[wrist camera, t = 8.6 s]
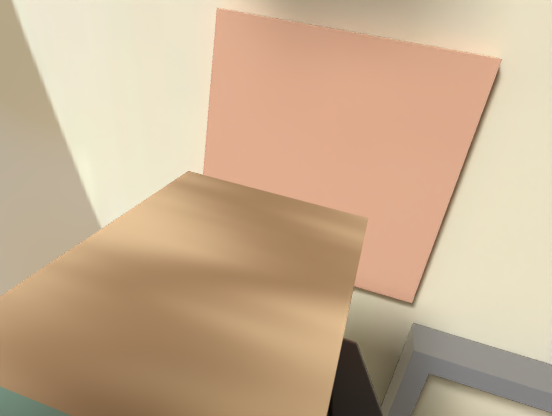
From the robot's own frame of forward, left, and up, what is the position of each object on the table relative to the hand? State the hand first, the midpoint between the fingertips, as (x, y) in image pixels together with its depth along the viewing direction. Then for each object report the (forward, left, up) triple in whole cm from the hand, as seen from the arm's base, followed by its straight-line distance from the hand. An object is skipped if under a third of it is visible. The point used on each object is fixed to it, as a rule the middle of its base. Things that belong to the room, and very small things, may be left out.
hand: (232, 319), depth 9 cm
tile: (0, 0, -11) cm, 11 cm away
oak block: (0, 0, -2) cm, 2 cm away
